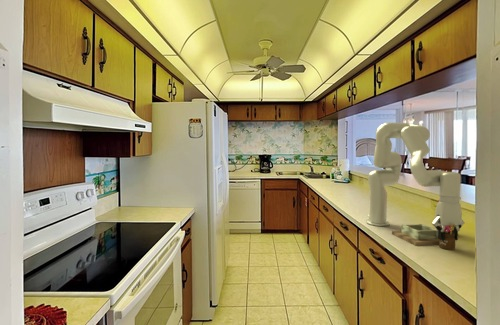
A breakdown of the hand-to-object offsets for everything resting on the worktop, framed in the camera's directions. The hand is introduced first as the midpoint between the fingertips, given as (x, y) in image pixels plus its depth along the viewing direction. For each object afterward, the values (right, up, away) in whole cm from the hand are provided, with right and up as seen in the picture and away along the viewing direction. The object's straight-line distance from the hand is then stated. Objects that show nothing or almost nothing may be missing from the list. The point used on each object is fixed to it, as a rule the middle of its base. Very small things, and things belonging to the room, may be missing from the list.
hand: (447, 239), depth 134 cm
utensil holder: (0, -4, 0) cm, 4 cm away
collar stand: (-5, -3, +14) cm, 15 cm away
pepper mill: (+14, -3, +24) cm, 28 cm away
